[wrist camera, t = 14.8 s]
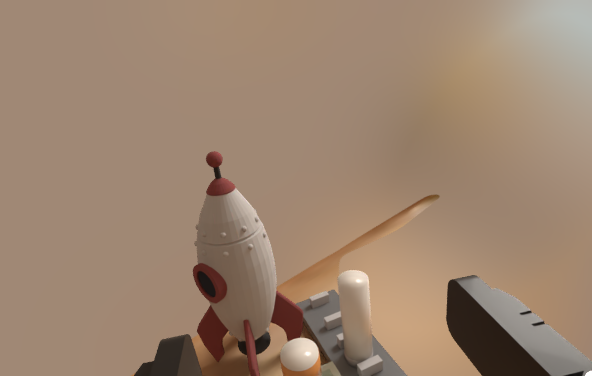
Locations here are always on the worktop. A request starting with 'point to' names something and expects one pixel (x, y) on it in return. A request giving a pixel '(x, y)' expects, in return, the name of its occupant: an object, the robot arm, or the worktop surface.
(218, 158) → the toy
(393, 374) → the holder
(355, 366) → the cylinder
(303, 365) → the cylinder
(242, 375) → the worktop surface
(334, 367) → the tray
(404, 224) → the worktop surface
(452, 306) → the robot arm
